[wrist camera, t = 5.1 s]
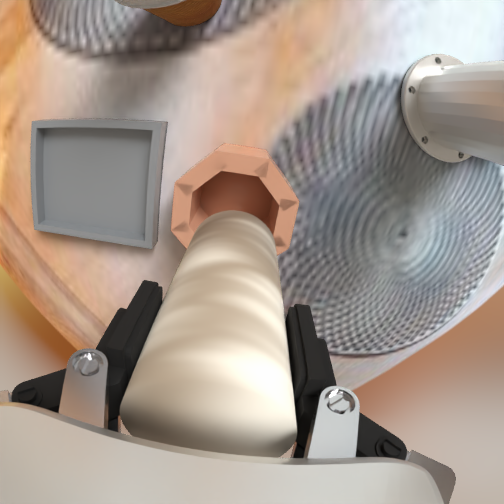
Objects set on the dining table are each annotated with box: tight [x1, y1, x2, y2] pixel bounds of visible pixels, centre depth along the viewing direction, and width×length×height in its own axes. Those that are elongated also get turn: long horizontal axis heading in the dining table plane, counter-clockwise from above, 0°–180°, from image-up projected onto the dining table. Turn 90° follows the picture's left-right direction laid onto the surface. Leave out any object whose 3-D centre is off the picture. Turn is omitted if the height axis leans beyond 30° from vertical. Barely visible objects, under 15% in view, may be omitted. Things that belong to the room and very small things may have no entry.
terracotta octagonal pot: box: [171, 143, 299, 256], centre depth 28 cm, size 10×10×7 cm
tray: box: [31, 119, 168, 249], centre depth 29 cm, size 16×13×2 cm
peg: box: [120, 210, 297, 458], centre depth 13 cm, size 5×5×12 cm
